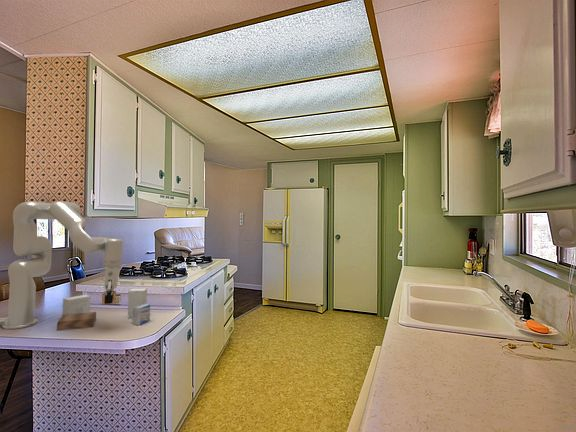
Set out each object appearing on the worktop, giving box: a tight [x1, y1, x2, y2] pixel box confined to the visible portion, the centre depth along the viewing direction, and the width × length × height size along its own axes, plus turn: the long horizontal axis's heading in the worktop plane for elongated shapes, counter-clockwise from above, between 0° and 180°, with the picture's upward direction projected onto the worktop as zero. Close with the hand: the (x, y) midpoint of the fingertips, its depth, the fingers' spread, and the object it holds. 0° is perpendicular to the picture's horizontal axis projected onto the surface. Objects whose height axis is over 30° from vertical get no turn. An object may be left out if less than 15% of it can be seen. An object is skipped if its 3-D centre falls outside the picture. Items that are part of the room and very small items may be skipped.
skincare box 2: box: [127, 287, 148, 319], centre depth 160 cm, size 8×6×15 cm
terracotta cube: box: [101, 290, 117, 305], centre depth 141 cm, size 5×5×5 cm
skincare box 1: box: [62, 294, 91, 315], centre depth 156 cm, size 10×6×10 cm, turn 152°
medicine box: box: [131, 303, 151, 326], centre depth 150 cm, size 8×4×9 cm, turn 168°
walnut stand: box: [56, 311, 97, 332], centre depth 144 cm, size 14×12×4 cm
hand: (108, 301), depth 141 cm, fingers closed on terracotta cube, 5 cm apart
